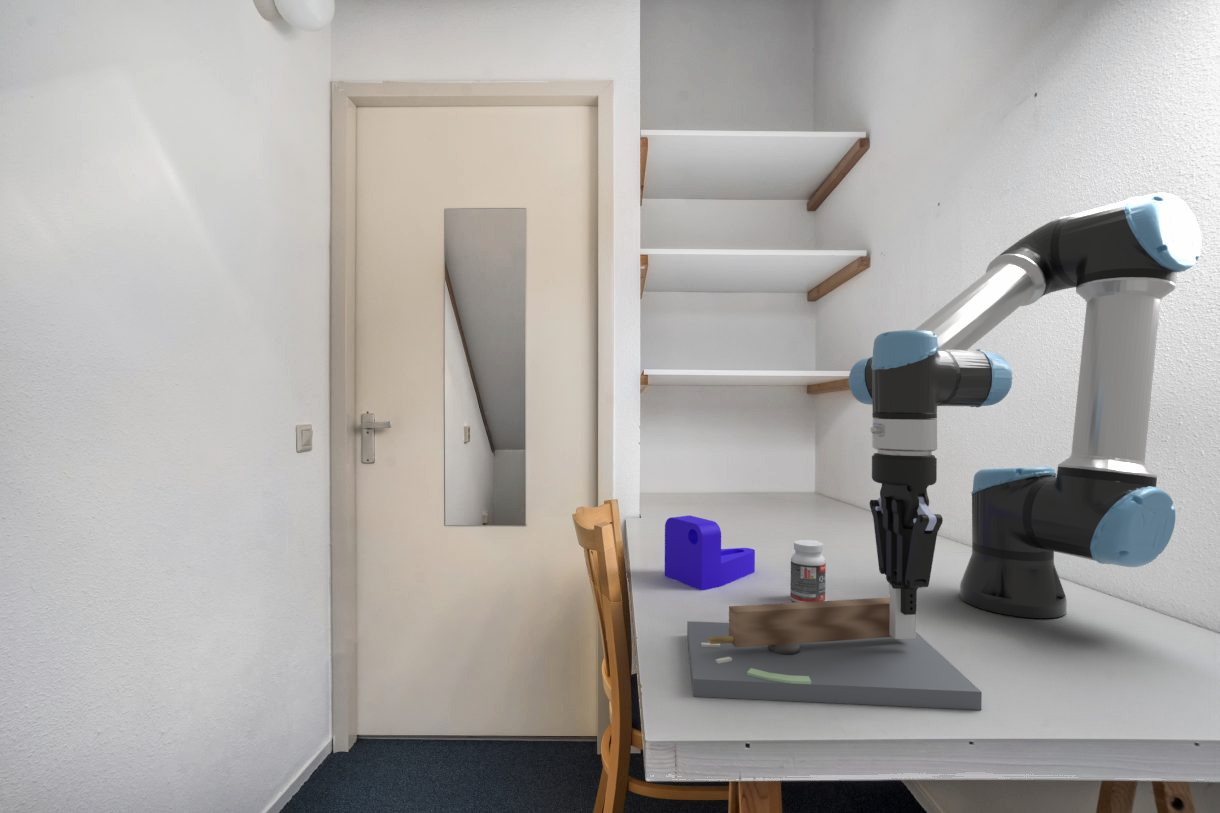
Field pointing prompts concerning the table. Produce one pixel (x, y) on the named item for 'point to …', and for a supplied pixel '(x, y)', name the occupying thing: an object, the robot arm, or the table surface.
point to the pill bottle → (807, 572)
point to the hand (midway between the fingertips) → (902, 636)
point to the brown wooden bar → (806, 623)
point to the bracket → (702, 554)
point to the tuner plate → (829, 672)
